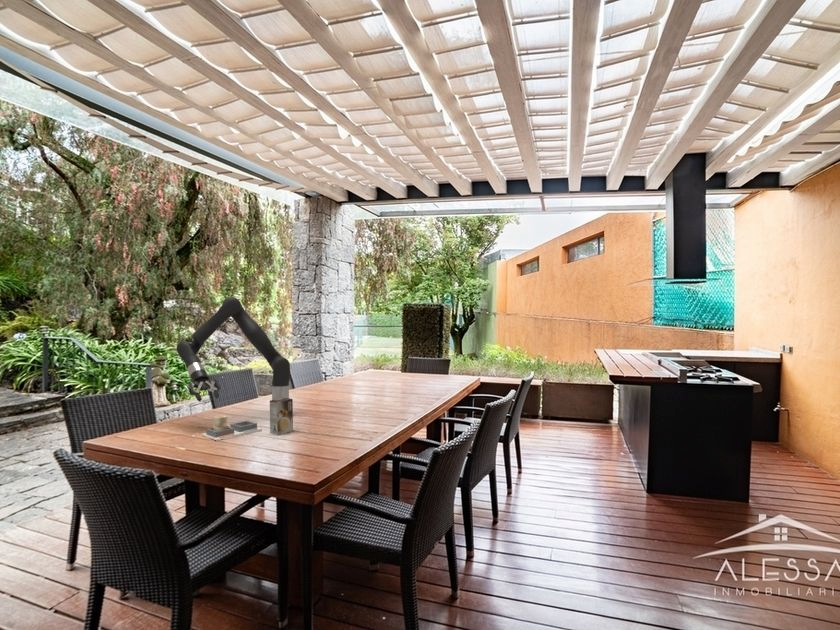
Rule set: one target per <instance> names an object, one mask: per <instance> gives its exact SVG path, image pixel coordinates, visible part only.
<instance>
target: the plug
mask: <svg viewBox="0 0 840 630" xmlns="http://www.w3.org/2000/svg"><path fill="white" fill-rule="evenodd" d="M227 426H228V416H225V415H219V416H218V415H217V416H213V428H214V431H221V430H226V429H227Z"/></svg>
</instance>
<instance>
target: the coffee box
mask: <svg viewBox="0 0 840 630" xmlns="http://www.w3.org/2000/svg"><path fill="white" fill-rule="evenodd" d="M289 398H290V397H289ZM289 398H281V399H275V400H272V399H271V400H269V433H270V434H271V433H272V434H273V435H275V434H276V436H279V435H280V436H281V435H284V434H288V433H291V432H293V431H294V413H293V412H294V409H293V408H294V407H293V404H294V403H293V401H294V400H293V398H290V399H289ZM287 432H288V433H287ZM283 433H284V434H283Z"/></svg>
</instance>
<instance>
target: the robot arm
mask: <svg viewBox="0 0 840 630" xmlns="http://www.w3.org/2000/svg"><path fill="white" fill-rule="evenodd" d="M230 318H232V320H233V321H235V323H236V324H237V325H238V327H239V329H240V330H241V332H242V334H244V336H245V338H246V339H247V340H248V341H249V343H250V344H251V345H252V346H253V347H254V348H255V349H256V350H257V351H258V352H259V353H260V354H261V355H262V356H263V357H264V359H265V360H266V362H267V363H268V365H269V367H270V368H271V370H272V380H271V400H275V399H281V398H289V399H291V397H290V380H291V379H290V378H291V365H290V361H289V360H288V359H287V358H285V357H284V356H283V355H282V354H280V352H278V351H277V350H276V348H275V347H274V346H273V343H272V342H271V339H270V338H269V336H268V334H267V333H266V332H265V331H264V330H263V328H262V327H261V326H260V325H259V324H258V322H257V321H255V319H253V318H252V317H251V316H250V315H249V314H248V313H247V311H246V310H245V308H244V307H243V305H242V303H241V301H240V299H239V298H237V297H235V296H228V297H226V298H225V299H224V300H223V302H222V304H221V305H220V307H219V308H218V310H217V311H216V312H215V313H214V314H213V315H212V316H211V317H210V318H209V319H208V320H206V321H205V322H204V323H202V325H200V326H199V327H198V328H197V329H196V330H195V331H193V333H192V334H191V337H192V338H191V339H192V341H191V342H189V341H187V340H181V341H179V342H177V343H178V344H177V345H176V352H177V354H178V356H179V357H180V358H181V360H182V361H183V363H184V364H185V367H186V370H187V372H188V375H189V377H190V380H191V382H189V383H188V385H187V390H188V392H189V396H195V398H196V401H198V402H201V401H202V399H203V398H202V396H201V393H200V391H201V392H204V391H209V392H212V393H213V396H214V398H215V400H218V399H219V398H220V393H219V391H220V390H221V386H220V383H218V381H217V379H214V380H210V378H209V376H208V375H209V374H208V373H207V371H206V368H205V366H204V364H202V361H201V359H200V357H199V356H198V355H197V354H198V353H199V352H200V350H201V348H202V346H203V344H204V343H205V342H206V341H207V340H208V339H209V338H210V337H211V336H212V335H213V334H214V333H215V332H216V331H217V330H218V329H219V328H220V327H221V325H223V324H224V323H225V322H226V321H227V320H229V319H230ZM194 388H195V389H196V390H194Z"/></svg>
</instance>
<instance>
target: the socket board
mask: <svg viewBox="0 0 840 630" xmlns="http://www.w3.org/2000/svg"><path fill="white" fill-rule="evenodd" d="M258 432H262V428H260V427H258V423H257V422H254V421H250V420H244V421H239V422H234V423H233V422H232V423H230V424H229V426H228V425H227V429H226V430H221V431H214V427H210V428H206V430H205V433H204V432H203V433H201V436H202V435H204V436H206V437H209V438H212V439H214V440H220V441H222V440H221V439H224V440H227V439H226V438H229V439H231V438H230V437H233V438H236V436H237V437H241V436H245V435H244V434H246V435H249V434H254V433H258ZM240 435H241V436H240ZM206 437H205V438H206ZM214 440H213V441H214Z"/></svg>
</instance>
